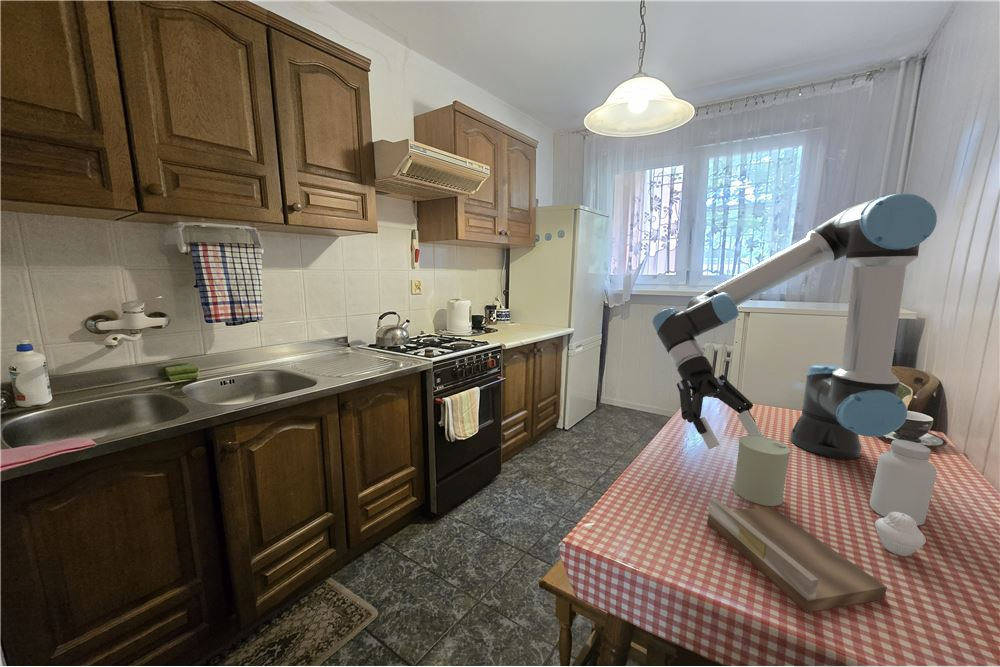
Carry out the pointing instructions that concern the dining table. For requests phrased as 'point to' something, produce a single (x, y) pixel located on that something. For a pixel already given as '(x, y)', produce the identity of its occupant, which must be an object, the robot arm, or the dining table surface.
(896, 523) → the muffin
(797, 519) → the dining table surface
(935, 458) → the dining table surface
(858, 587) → the shelf
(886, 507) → the pill bottle
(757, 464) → the can
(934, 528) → the dining table surface
